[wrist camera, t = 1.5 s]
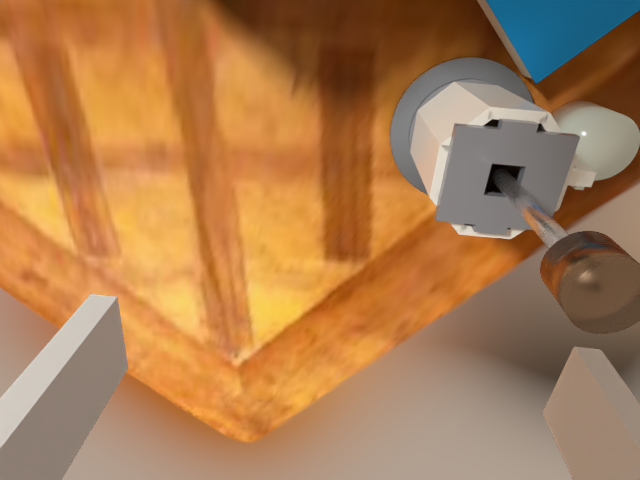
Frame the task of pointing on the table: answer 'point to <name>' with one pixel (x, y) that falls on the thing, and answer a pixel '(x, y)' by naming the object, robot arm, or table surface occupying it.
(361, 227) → the table surface
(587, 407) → the robot arm
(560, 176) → the cafetiere
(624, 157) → the espresso cup
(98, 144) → the table surface
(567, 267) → the plunger
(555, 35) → the book
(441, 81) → the disc
